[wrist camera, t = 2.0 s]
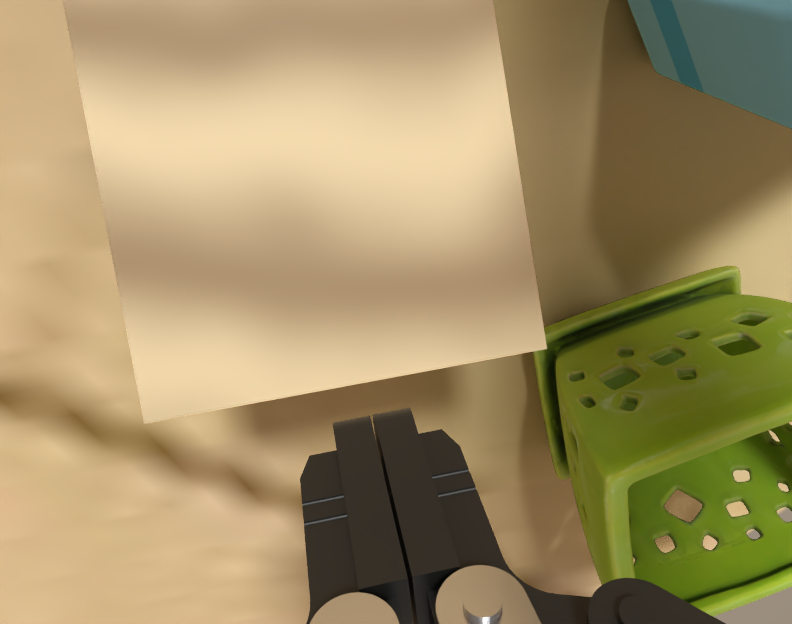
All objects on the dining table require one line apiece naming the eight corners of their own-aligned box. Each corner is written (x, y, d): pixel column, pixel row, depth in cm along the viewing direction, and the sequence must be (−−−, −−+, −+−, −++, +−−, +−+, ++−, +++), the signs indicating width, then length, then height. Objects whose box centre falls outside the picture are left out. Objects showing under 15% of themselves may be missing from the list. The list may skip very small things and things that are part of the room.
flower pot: (533, 470, 43) (624, 654, 32) (494, 306, 35) (597, 477, 25) (730, 402, 43) (885, 562, 33) (735, 222, 35) (940, 357, 25)
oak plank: (23, -317, 19) (-12, -387, 17) (418, -341, 20) (430, -409, 18) (161, 410, 20) (144, 423, 18) (525, 343, 22) (547, 348, 20)
